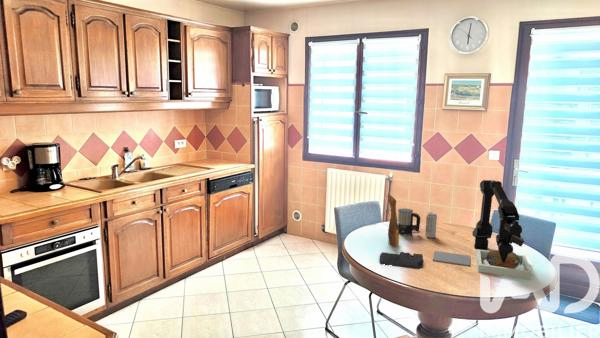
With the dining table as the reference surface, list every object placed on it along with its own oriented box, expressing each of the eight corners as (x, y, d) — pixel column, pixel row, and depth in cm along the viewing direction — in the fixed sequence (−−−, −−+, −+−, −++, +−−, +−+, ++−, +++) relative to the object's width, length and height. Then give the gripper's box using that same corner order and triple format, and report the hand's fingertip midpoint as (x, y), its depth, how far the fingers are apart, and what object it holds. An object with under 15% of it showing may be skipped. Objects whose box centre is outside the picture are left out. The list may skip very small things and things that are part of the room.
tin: (485, 265, 207) (487, 249, 206) (485, 263, 210) (486, 247, 209) (519, 270, 202) (520, 254, 200) (518, 268, 204) (520, 252, 203)
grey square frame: (477, 271, 199) (478, 264, 199) (476, 255, 220) (477, 249, 220) (531, 279, 191) (532, 272, 190) (524, 262, 212) (525, 255, 212)
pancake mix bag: (387, 247, 230) (390, 199, 226) (385, 236, 249) (387, 192, 244) (399, 248, 229) (402, 200, 225) (396, 237, 248) (398, 192, 243)
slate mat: (432, 260, 212) (432, 259, 212) (434, 251, 225) (434, 250, 225) (470, 266, 206) (470, 265, 206) (469, 256, 218) (469, 255, 218)
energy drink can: (437, 237, 248) (439, 214, 246) (428, 238, 247) (430, 214, 244) (431, 234, 254) (433, 211, 252) (423, 235, 252) (424, 212, 250)
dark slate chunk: (380, 254, 221) (380, 246, 220) (422, 259, 215) (423, 250, 215) (378, 265, 206) (378, 256, 205) (423, 270, 201) (424, 261, 200)
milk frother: (397, 234, 254) (398, 211, 251) (395, 227, 269) (397, 205, 267) (420, 236, 251) (422, 212, 249) (418, 228, 267) (419, 206, 264)
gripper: (526, 237, 191) (523, 268, 194) (521, 226, 208) (518, 255, 211) (500, 233, 195) (497, 264, 198) (497, 223, 212) (494, 252, 215)
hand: (502, 259), depth 205 cm, fingers open, 9 cm apart
